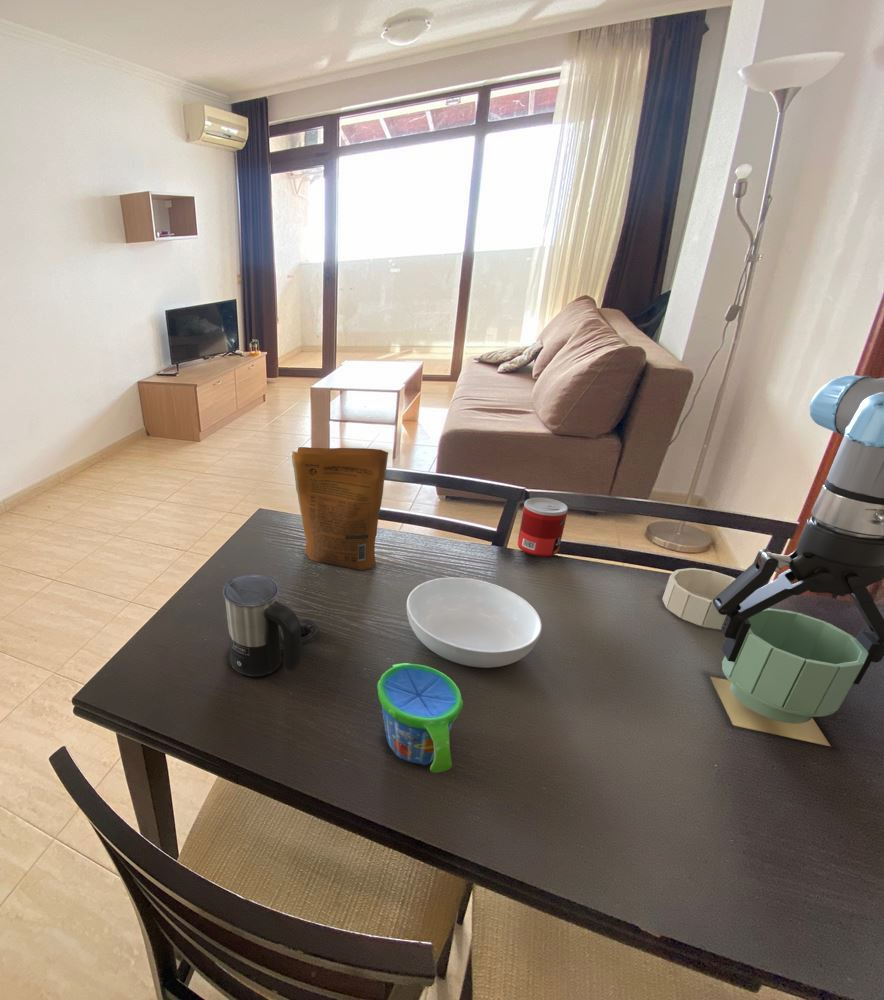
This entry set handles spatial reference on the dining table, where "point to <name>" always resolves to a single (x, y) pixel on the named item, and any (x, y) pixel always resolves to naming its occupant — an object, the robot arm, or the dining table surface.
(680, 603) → the cream bowl
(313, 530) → the pancake mix bag
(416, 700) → the snack cup
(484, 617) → the serving bowl
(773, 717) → the green bowl
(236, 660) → the milk frother
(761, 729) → the placemat
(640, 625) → the dining table surface
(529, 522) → the canned food
